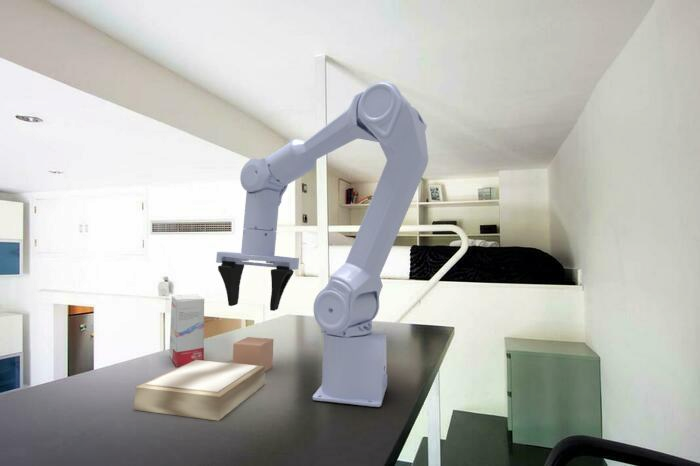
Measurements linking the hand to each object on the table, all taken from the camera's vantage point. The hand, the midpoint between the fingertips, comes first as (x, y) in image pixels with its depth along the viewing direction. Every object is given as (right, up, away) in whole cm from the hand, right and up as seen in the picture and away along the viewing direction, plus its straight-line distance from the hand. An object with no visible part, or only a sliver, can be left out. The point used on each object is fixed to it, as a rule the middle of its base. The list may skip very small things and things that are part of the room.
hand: (253, 307), depth 61 cm
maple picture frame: (-3, -10, -12) cm, 16 cm away
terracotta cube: (0, -11, -1) cm, 11 cm away
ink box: (-14, -11, +4) cm, 19 cm away
